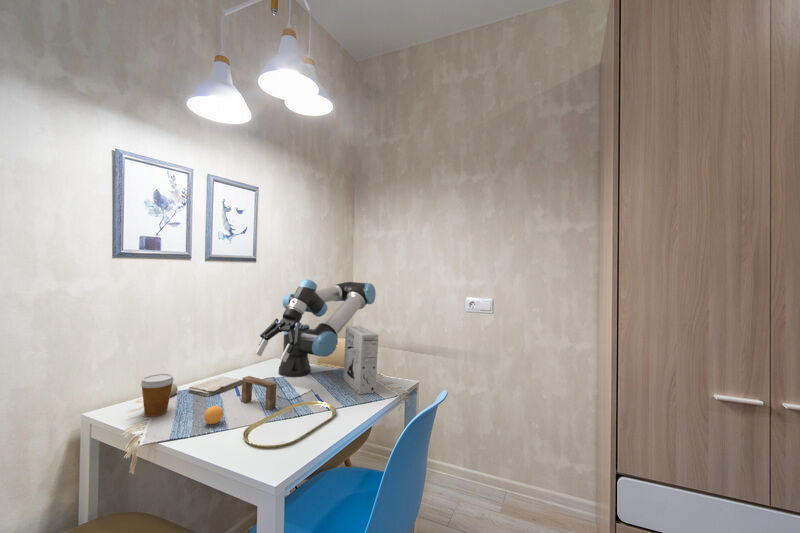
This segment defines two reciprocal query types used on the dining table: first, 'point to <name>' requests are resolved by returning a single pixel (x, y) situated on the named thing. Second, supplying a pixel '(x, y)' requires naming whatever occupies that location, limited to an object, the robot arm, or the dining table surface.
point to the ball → (213, 415)
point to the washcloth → (214, 386)
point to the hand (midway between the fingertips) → (270, 357)
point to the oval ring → (281, 413)
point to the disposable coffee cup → (156, 393)
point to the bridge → (269, 385)
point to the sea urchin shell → (173, 389)
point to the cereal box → (360, 359)
